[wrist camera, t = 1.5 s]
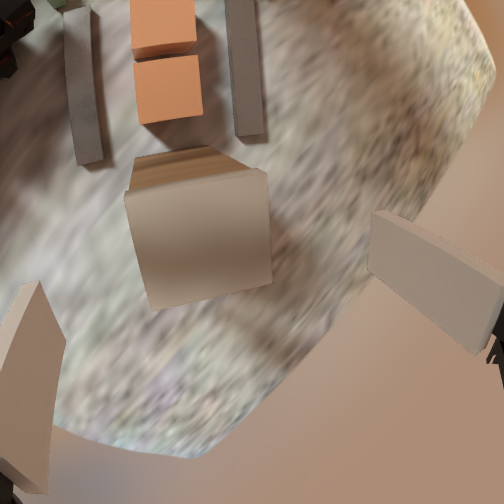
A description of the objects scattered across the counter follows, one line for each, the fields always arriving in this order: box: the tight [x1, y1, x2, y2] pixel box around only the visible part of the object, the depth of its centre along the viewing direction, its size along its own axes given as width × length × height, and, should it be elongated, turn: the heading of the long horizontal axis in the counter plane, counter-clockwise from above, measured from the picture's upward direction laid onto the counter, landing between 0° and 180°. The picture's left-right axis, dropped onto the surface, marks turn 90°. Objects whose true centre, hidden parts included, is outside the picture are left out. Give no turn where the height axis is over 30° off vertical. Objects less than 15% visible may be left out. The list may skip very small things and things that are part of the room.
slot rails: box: [63, 0, 264, 166], centre depth 19 cm, size 12×14×1 cm
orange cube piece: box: [130, 0, 197, 59], centre depth 16 cm, size 4×4×4 cm
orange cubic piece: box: [133, 55, 203, 125], centre depth 19 cm, size 4×4×4 cm
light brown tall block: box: [124, 145, 273, 311], centre depth 18 cm, size 5×6×12 cm
